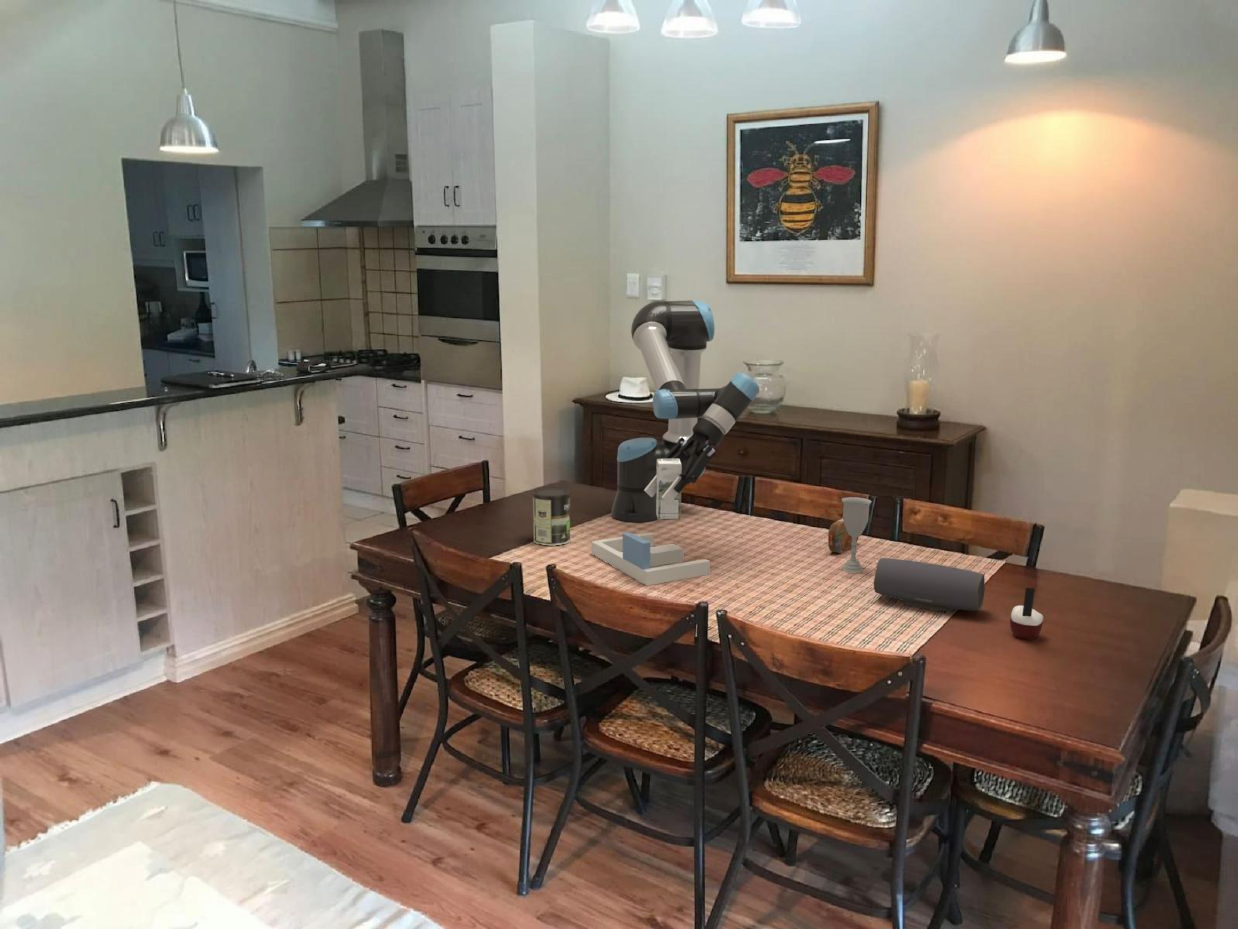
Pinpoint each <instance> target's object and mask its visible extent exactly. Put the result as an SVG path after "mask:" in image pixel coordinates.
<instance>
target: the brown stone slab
mask: <svg viewBox="0 0 1238 929" xmlns="http://www.w3.org/2000/svg"><path fill="white" fill-rule="evenodd" d="M827 536H828V538H827V540H828V544H827V545H828V549H829V551H830V552H831V553H836V554H844V553H846V552H847V551H850V549H852V545H851V543H852V540H853V539H852V536H850V535H849V534H848V532H847V530H846V527H845V525H844V521H843V517H842V518H840V519H838V520H836V521H834V522H832V524H830V527H829V529H828V533H827ZM858 540H859V537H857V539H856V542H858Z"/></svg>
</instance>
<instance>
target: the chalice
mask: <svg viewBox="0 0 1238 929" xmlns="http://www.w3.org/2000/svg"><path fill="white" fill-rule="evenodd" d="M841 501H842V504H843V506H842V507H843V508H842V509H843V510H842V518H843V521H844V525H845V527H846V530H847V532H848V534H849V535H850V536H852V539H853V540H852V543H851V545H852V548H851V550H849V552H850V554H851V557H850V558H849V559H847V560H846V561H845V563H844V565H843V567H842V571H844V572H845V573H850V574H851V573H852V574H858V573H859V574H860V573H863V571H864V570H863V567H862V564H861V562H860V561H859V560H857V558H856V557H857V556H856V555H857V553H858V551H857V546H858V543H857V542H858V541H857V542H856V539H857V537H858V538H859V537H861V535H862V534H863V532H864V531H865V529H866V527H867V525H868V522H869V514H870V513H869V512H870V506H871V504H872V501H871V499H868V498H863V497H856V496H855V497H852V496H850V497H843V498H841Z"/></svg>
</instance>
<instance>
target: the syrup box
mask: <svg viewBox="0 0 1238 929" xmlns="http://www.w3.org/2000/svg"><path fill="white" fill-rule="evenodd" d="M679 474H682V464H681V462H680V459H657V484H656V515H657V518H658V519H657V520H658V521H680V520H681V518H682V517H681V516H682V514H681V513H682V508H681V507H682V491H681V492H680V493H679V494H678V495H677V496H676V497H675V499H674V500H673V501H672V502H671V504H670V505H669V504H668V503H667V502H666V501H665V500H664V499H663V498H662V496H663V495H664V493H665V492H666V491H667V490H668V488H669V487H670V486H671V485H672V483H673V482H674V481H675V480H676V478H677V477H680V476H679ZM680 478H681V477H680Z"/></svg>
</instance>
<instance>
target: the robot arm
mask: <svg viewBox="0 0 1238 929" xmlns="http://www.w3.org/2000/svg"><path fill="white" fill-rule="evenodd" d="M630 328H631V329H630V331H631V338H632V341H633V343H634V345H635V347H636V348H637V349H638V350H640V351H641V354H642V357H643V360H644V362H645V365H646V368H647V370H648V372H649V375H650V378H651V381H652V384H653V385H654V388H655V391H654V393H653V397H652V408H653V414H654V416H655V417H656V418H657V419H666V420H667V419H668V430H667V431H666V432H665V433H664V434H663V435H662V442H658V441H657V439H655V438H654V437H637V438H631V439H628V440H625V441H622V442H621V443H620V444H619V445H618V448H617V455H616V456H617V457H616V461H617V488H616V490H617V492H616V493H615V497H614V500H613V503H612V506H611V518H613V519H615V520H619V521H623V522H628V523H629V522H631V523H645V522H646V523H647V522H652V521H656V520H658V518H657V515H656V484H657V459H680V462H681V464H682V474H679V476H680V477H681V478H680V477H677V478H676V480H675V481H674V482H673V483H672V485H671V486H670V487H669V488H668V490H667V491H666V492H665V493H664V495H663V496H662V498H663V499H664V500H665V501H666V502H667V503H668V504H669V505H670V504H671V502H672V501H673V500H674V499H675V497H676V496H677V495H678V494H679V493H680V492H681V493H682V491H683V489H684V488H685V487H686V485H688V484H689V485H690V483H691V484H695V483H696V482H697V481H698V479H700V478H701V477H702V476H703V475H704V473H705V471H706V468H707V466H708V464H709V463H710V461H711V460H712V459H713V458H714V457H715V456H716V454H717V451H716V449H714V448H716V447H718V446H719V444H720V443H721V442H722V441H723V439H724V438H725V435H727V433H728V432H729V431H730V430H731V429H732V427H733V426H734V425H735V423H736V422H738V420H739V419H740V417H741V416H742V415H743V413H744V412H745V411H747V409H748V407H749V406H750V405H751V404H752V403H753V402H754V401H755V398H756V397H757V396H758V394H759V393H760V386H759V384H758V383H757V382H756V380H754V379H753V378H752V377H751V376H750V375H748V374H746V373H743V372H738V373H736V374H735V375H734V376H733V377H732V378H731V379H730V381H729V382H728V384H726V385H725V386H722V387H717V388H716V387H715V388H700V381H701V380H700V378H701V377H700V376H701V357H702V354H703V352H705V351H706V350H707V344H708V343H709V342H711V341H713V339H714V337H715V331H716V330H715V329H716V328H715V318H714V315H713V311H712V310H711V307H710V305H709V304H708V303H707V302H705V301H703V300H691V299H690V300H666V301H664V300H656V301H653V302H652V301H651V302H649V303H648V304H646V305H644V306H643V307H641V308H640V309H639V311H637V313H636V314H635V316H634V318H633V320H632V324H631V327H630ZM707 342H708V343H707Z"/></svg>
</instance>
